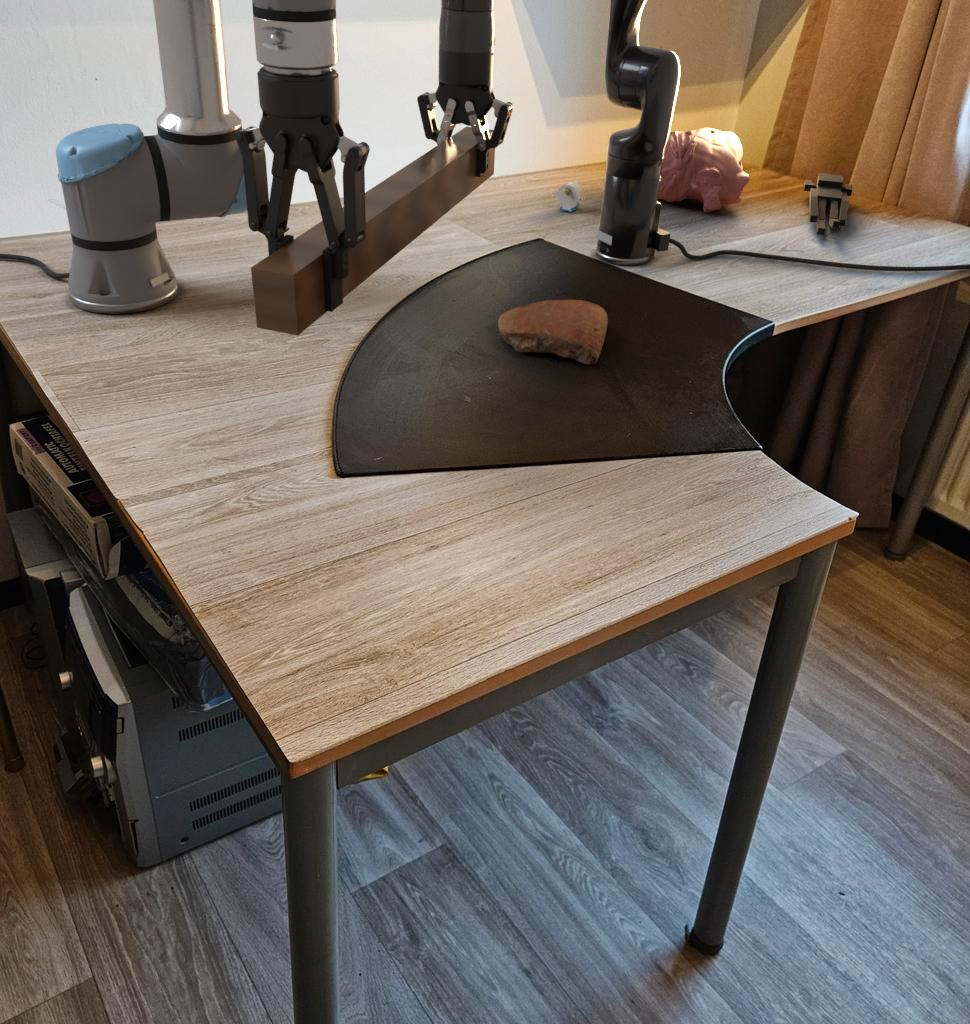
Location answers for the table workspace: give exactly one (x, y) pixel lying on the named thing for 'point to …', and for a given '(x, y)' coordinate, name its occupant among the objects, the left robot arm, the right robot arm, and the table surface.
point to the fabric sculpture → (703, 168)
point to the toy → (828, 201)
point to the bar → (367, 234)
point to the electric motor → (570, 196)
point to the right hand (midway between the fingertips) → (463, 172)
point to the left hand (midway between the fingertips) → (310, 301)
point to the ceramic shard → (557, 328)
